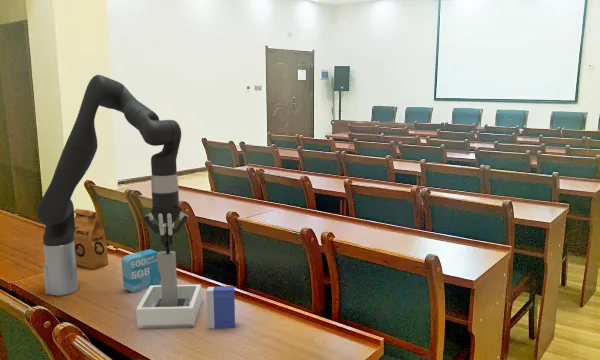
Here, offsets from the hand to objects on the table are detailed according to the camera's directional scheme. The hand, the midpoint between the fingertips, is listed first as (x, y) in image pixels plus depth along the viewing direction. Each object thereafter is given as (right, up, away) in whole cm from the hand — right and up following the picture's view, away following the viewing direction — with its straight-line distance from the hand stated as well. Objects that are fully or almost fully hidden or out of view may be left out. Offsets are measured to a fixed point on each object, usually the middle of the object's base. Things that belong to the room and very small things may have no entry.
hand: (167, 246), depth 146 cm
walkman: (+16, -23, -3) cm, 28 cm away
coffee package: (-42, -14, +45) cm, 63 cm away
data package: (-15, -18, +25) cm, 34 cm away
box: (0, -21, +4) cm, 22 cm away
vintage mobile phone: (-1, -19, +4) cm, 19 cm away
